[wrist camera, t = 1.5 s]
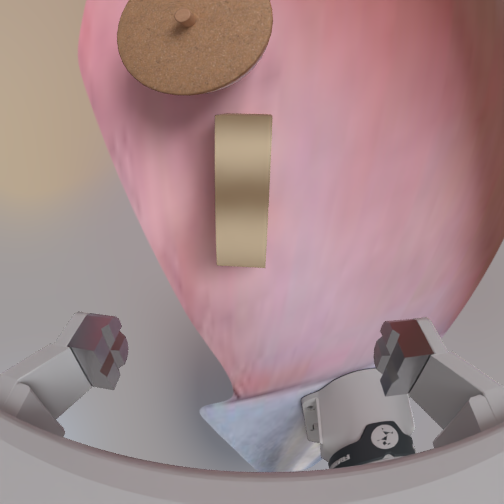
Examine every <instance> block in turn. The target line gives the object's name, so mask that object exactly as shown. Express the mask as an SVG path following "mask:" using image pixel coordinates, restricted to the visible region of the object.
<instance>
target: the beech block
mask: <svg viewBox="0 0 504 504" xmlns="http://www.w3.org/2000/svg"><path fill="white" fill-rule="evenodd" d="M271 139H272V115H268V114H221V115H215V218H216V257H217V265H220V266H239V267H258V268H265V262H266V244H267V225H268V205H269V184H270V162H271Z"/></svg>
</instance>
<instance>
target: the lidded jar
mask: <svg viewBox="0 0 504 504" xmlns="http://www.w3.org/2000/svg"><path fill="white" fill-rule="evenodd" d="M272 24H273V16H272V7H271V4H270V0H129V1H128V3H127V5H126V7H125V9H124V11H123V13H122V15H121V18H120V21H119V25H118V32H117V44H118V50H119V54H120V57H121V59H122V62H123V64H124V65H125V67H126V68H127V70H128V71H129V73H130V74H131V75H132V76H133V77H134V78H135V79H136V80H138V81H139V82H140V83H142V84H143V85H145V86H147V87H149V88H151V89H153V90H156V91H159V92H162V93H166V94H172V95H197V94H204V93H210V92H214V91H218V90H221V89H223V88H226V87H228V86H230V85H232V84H234V83H236V82H237V81H239V80H240V79H242V78H243V77H244V76H246V75H247V74H248V73H249V72H250V71H251V70H252V69H253V68H254V67H255V66H256V65H257V63H258V62H259V61H260V59H261V58H262V56H263V54H264V52H265V50H266V47H267V45H268V42H269V39H270V36H271V32H272Z"/></svg>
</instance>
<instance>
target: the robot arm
mask: <svg viewBox="0 0 504 504" xmlns="http://www.w3.org/2000/svg"><path fill="white" fill-rule="evenodd" d="M121 327H122V325H121V323H120V321H119V318H117V317H115V316H107V315H99V314H92V313H83V312H77V313H74V315H73V316H72V318H71V319H70V321H69V322H68V324H67V325H66V327H65V328H64V329H63V331H62V332H61V334H60V335H59V337H58V338H57V340H56V342H55V343H54V344H49V345H47V346H45V347H44V348H42V349H40V350H39V351H37V352H35V353H34V354H32V355H30V356H29V357H27V358H25V359H24V360H22V361H20V362H19V363H17V364H16V365H14V366H12V367H11V368H9V369H7V370H6V371H4V372H2V373H1V374H0V504H504V387H503V386H502V385H501V384H499V383H498V382H497V381H495V380H494V379H492V378H491V377H489V376H487V375H486V374H484V373H483V372H482V371H480V370H479V369H477V368H476V367H474V366H473V365H472V364H470V363H468V362H467V361H466V360H464V359H462V358H461V357H460V356H458V355H457V354H455V353H454V352H448V351H447V349H446V347H445V345H444V343H443V341H442V340H441V338H440V336H439V334H438V333H437V331H436V329H435V327H434V326H433V324H432V322H431V321H430V319H428V318H427V317H424V318H415V319H406V320H394V321H385V322H384V323H383V325H382V327H381V330H380V331H381V334H382V337H381V338H380V339H379V340H377V342H376V345H375V348H374V363H375V366H376V369H367V370H361V371H357V372H353V373H350V374H347V375H345V376H342V377H340V378H338V379H336V380H334V381H333V382H331V383H330V384H328V385H327V386H325V387H324V388H323V389H321V390H320V391H318V392H315V393H312V394H310V395H307V396H305V397H303V398H302V400H301V402H302V408H303V414H304V420H305V426H306V432H307V437H308V440H309V441H312V442H317V443H320V452H321V458H323V459H324V460H326V461H327V462H329V463H328V465H329V469H326V470H315V471H298V472H234V471H218V470H207V469H198V468H190V467H182V466H175V465H169V464H163V463H157V462H152V461H147V460H142V459H136V458H132V457H128V456H124V455H119V454H116V453H112V452H108V451H105V450H101V449H98V448H94V447H91V446H88V445H84V444H81V443H78V442H75V441H72V440H69V439H67V438H64V437H63V436H64V434H65V431H64V429H63V427H62V426H61V425H60V424H59V423H58V422H57V420H56V419H57V418H58V417H59V416H60V415H61V414H63V413H64V412H65V411H66V410H67V409H68V408H69V407H70V406H72V405H73V404H74V403H75V402H76V401H77V400H78V399H79V398H81V397H82V396H83V395H84V394H85V393H86V392H87V391H89V390H90V389H91V388H92V386H94V387H99V388H105V389H111V390H114V389H115V386H116V384H117V381H118V379H119V377H120V372H119V368H120V367H121V366H123V365H124V364H125V362H126V360H127V355H128V343H127V340H126V337H125V336H124V335H123V334H122V333H121V332H120V329H121ZM410 397H411V398H412V399H413V400H414V401H415V402H416V403H417V404H418V405H419V406H420V407H421V408H422V409H423V410H424V411H425V412H426V413H427V414H428V415H429V416H430V417H431V418H432V419H433V420H434V421H435V422H436V423H437V424H438V425H439V426H440V427H441V428H442V429H443V431H442V432H441V433H440V434H439V435H438V436H437V437H436V438H435V440H434V441H433V445H434V449H430V450H427V451H423V452H420V453H416V454H415V451H416V450H415V446H414V445H413V441H412V438H411V437H410V436H411V434H412V433H413V431H414V429H415V424H414V419H413V414H412V410H411V405H410V401H409V398H410Z"/></svg>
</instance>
